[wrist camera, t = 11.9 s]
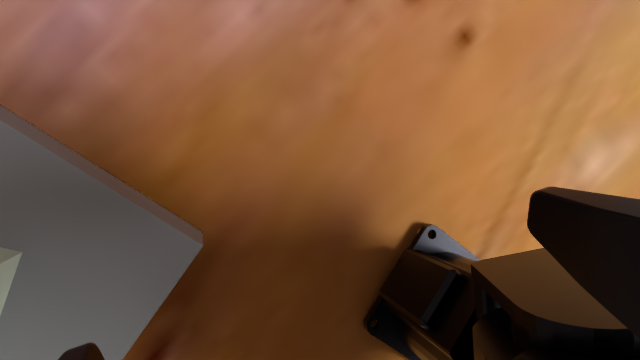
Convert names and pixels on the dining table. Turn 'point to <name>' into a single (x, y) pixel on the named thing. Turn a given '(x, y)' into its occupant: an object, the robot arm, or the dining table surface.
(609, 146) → the dining table surface
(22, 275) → the plinth
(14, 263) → the sage block
